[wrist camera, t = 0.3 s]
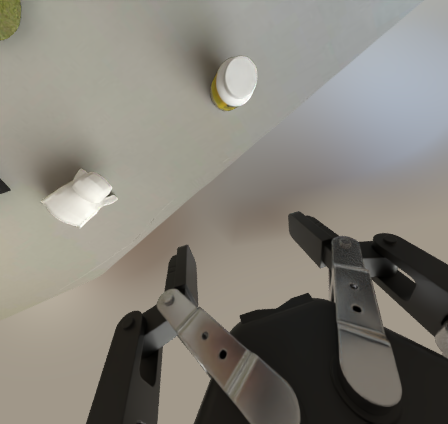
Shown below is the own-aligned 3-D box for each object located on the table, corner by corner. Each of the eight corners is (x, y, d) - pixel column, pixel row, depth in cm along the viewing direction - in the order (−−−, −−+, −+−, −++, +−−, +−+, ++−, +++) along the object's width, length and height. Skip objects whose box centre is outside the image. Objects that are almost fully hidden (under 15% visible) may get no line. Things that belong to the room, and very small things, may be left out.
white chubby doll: (99, 213, 41) (135, 185, 35) (71, 239, 35) (108, 210, 28) (64, 187, 37) (97, 150, 31) (24, 211, 31) (55, 169, 24)
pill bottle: (219, 117, 35) (231, 112, 25) (203, 83, 32) (211, 62, 22) (245, 101, 34) (268, 90, 24) (232, 66, 31) (253, 37, 22)
